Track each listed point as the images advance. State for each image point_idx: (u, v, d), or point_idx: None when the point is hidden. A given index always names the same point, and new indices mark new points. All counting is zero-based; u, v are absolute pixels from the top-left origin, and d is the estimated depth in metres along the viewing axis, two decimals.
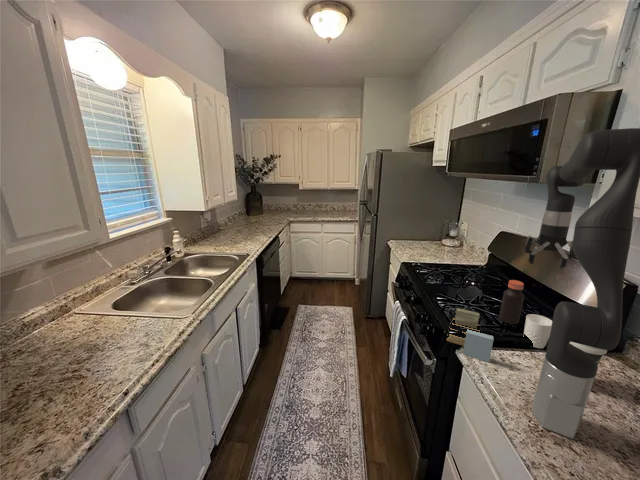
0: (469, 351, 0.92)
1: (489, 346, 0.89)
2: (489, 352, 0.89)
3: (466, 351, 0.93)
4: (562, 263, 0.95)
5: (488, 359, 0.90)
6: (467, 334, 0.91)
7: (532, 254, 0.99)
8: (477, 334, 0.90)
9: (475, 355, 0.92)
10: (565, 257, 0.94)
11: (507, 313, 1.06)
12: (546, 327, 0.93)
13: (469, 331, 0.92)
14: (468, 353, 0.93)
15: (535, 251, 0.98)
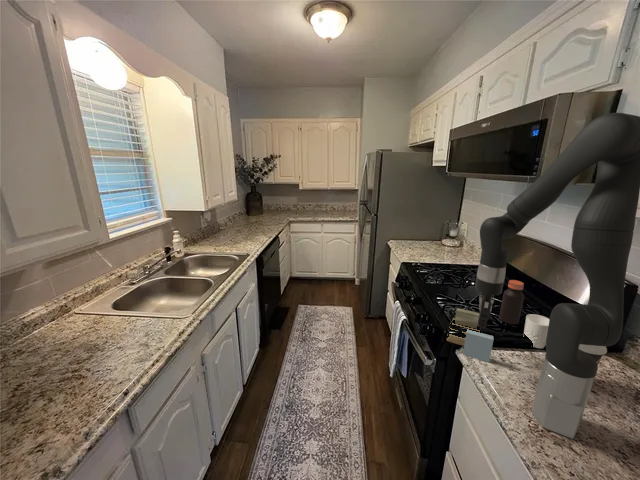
0: (469, 351, 0.92)
1: (489, 346, 0.89)
2: (489, 352, 0.89)
3: (466, 351, 0.93)
4: None
5: (488, 359, 0.90)
6: (467, 334, 0.91)
7: None
8: (477, 334, 0.90)
9: (475, 355, 0.92)
10: None
11: (507, 313, 1.06)
12: (546, 327, 0.93)
13: (469, 331, 0.92)
14: (468, 353, 0.93)
15: (488, 314, 0.84)
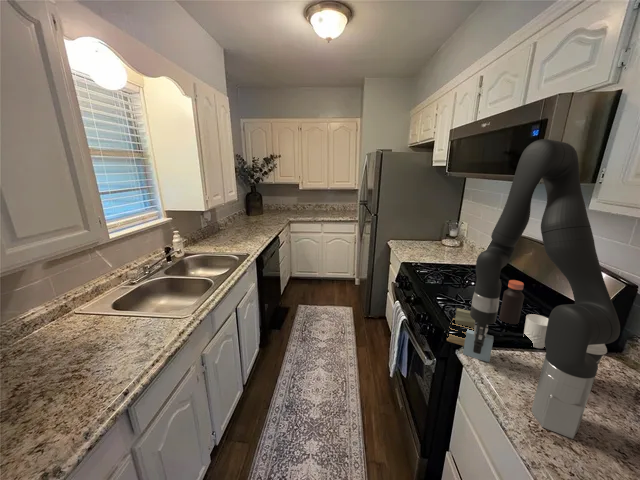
0: (469, 351, 0.92)
1: (489, 346, 0.88)
2: (489, 352, 0.89)
3: (466, 351, 0.93)
4: None
5: (488, 359, 0.90)
6: (467, 334, 0.91)
7: None
8: None
9: (475, 355, 0.92)
10: None
11: (507, 313, 1.06)
12: (546, 327, 0.93)
13: (469, 331, 0.92)
14: (468, 353, 0.93)
15: None
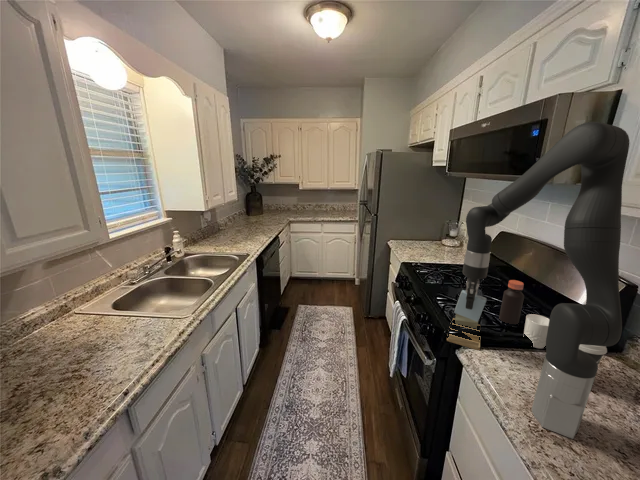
0: (461, 310, 0.97)
1: (481, 306, 0.93)
2: (480, 312, 0.94)
3: (458, 310, 0.98)
4: None
5: (477, 318, 0.95)
6: (462, 294, 0.96)
7: (473, 300, 0.93)
8: None
9: (466, 314, 0.97)
10: None
11: (507, 313, 1.06)
12: (546, 327, 0.93)
13: (464, 291, 0.96)
14: (459, 312, 0.98)
15: None
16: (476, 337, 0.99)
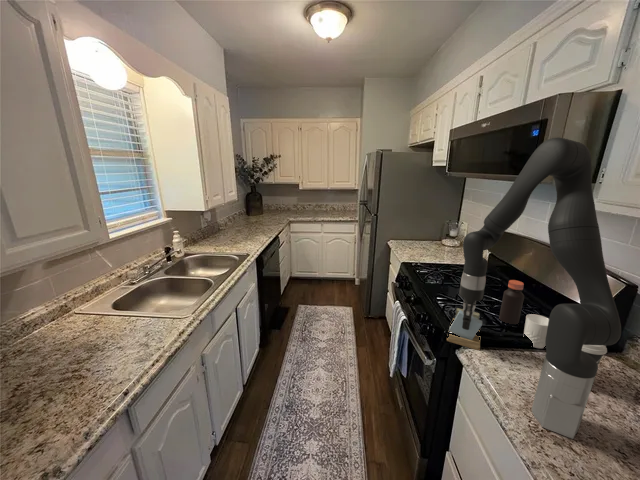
0: (456, 329, 1.00)
1: (476, 329, 0.96)
2: (474, 334, 0.97)
3: (453, 328, 1.00)
4: None
5: (471, 339, 0.98)
6: (459, 314, 0.98)
7: None
8: None
9: (460, 334, 0.99)
10: None
11: (507, 313, 1.06)
12: (546, 327, 0.93)
13: (462, 312, 0.98)
14: (454, 331, 1.00)
15: None
16: (476, 337, 0.99)
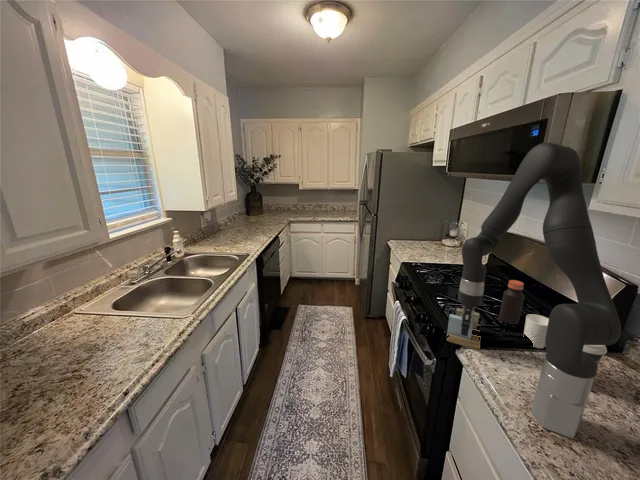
0: (452, 333, 1.01)
1: (469, 328, 0.97)
2: (469, 334, 0.97)
3: None
4: None
5: None
6: (450, 318, 1.00)
7: None
8: (459, 318, 0.99)
9: None
10: None
11: (507, 313, 1.06)
12: (546, 327, 0.93)
13: (452, 315, 1.01)
14: None
15: None
16: (476, 337, 0.99)
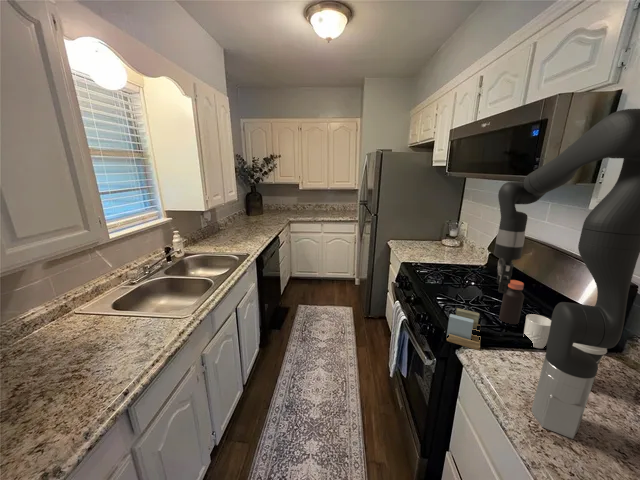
0: (452, 333, 1.01)
1: (469, 328, 0.97)
2: (469, 334, 0.97)
3: None
4: (504, 279, 0.94)
5: None
6: (450, 318, 1.00)
7: (508, 283, 0.86)
8: (459, 318, 0.99)
9: None
10: None
11: (507, 313, 1.06)
12: (546, 327, 0.93)
13: (452, 315, 1.01)
14: None
15: None
16: (476, 337, 0.99)
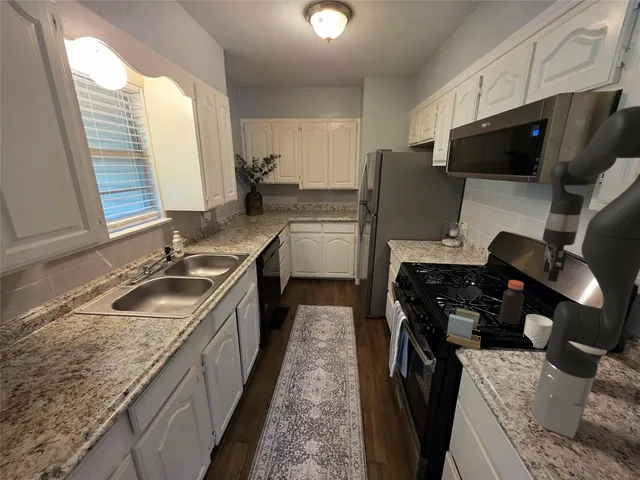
0: (452, 333, 1.01)
1: (469, 328, 0.97)
2: (469, 334, 0.97)
3: None
4: None
5: None
6: (450, 318, 1.00)
7: None
8: (459, 318, 0.99)
9: None
10: None
11: (507, 313, 1.06)
12: (546, 327, 0.93)
13: (452, 315, 1.01)
14: None
15: (560, 265, 0.80)
16: (476, 337, 0.99)
